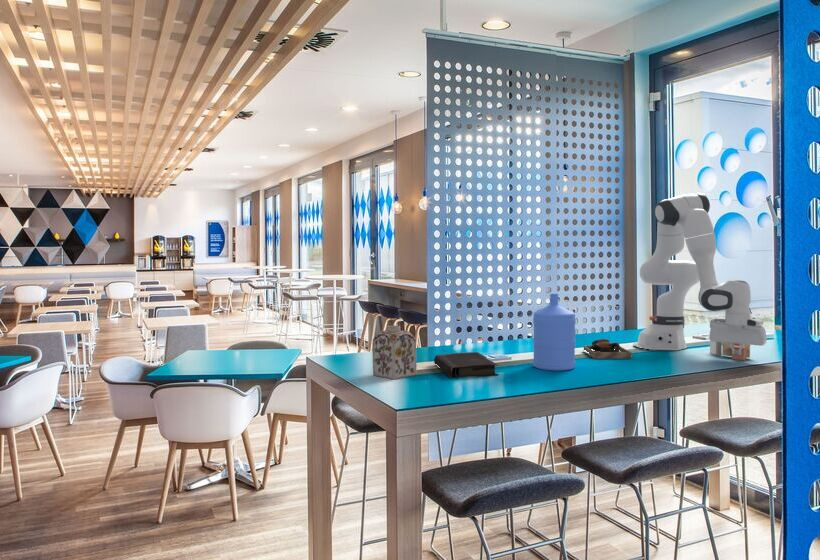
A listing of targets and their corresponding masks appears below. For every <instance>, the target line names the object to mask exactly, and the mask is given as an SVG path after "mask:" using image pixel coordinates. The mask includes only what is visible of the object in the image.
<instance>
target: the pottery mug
mask: <svg viewBox="0 0 820 560" xmlns="http://www.w3.org/2000/svg"><path fill="white" fill-rule="evenodd" d="M610 341H611V340H609V339H608V338H602V339H601V338H600V339H596V340H593V341H592V342H591V345H590V346H591V349H593V350H595V351H600V352H618V351H619V350H620V344H619V343H618V342H610ZM610 346H611V347H610ZM615 346H617V348H616V349H615V350H614V348H615Z"/></svg>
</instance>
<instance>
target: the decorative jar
mask: <svg viewBox="0 0 820 560" xmlns="http://www.w3.org/2000/svg"><path fill="white" fill-rule="evenodd" d="M417 362H418V361H417V339H416V337H415V336H414V335H413V334H412V333H411V331H408V330H403V329H401V325H388V326H387V329H386V330H381V331H379V332H378V333H376V335H375V336H374V337H373V338H372V375H373V376H376V377H379V378H384V379H389V380H393V381H395V380H396V381H397V380H399V379H404V378H409V377H413V376H416V375H417V369H418V368H417Z"/></svg>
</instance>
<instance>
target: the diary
mask: <svg viewBox="0 0 820 560" xmlns="http://www.w3.org/2000/svg"><path fill="white" fill-rule="evenodd" d="M433 363H434V365H435V364H437V365H438V366H439V367H440V368H441V369H442V370H441V369H440V368H439V369H440V370H441V371H442V372H443V373H445V374H446V375H448V376H449V378H451V379H453V378H454V377H455V378H468V377H469V378H470V377H476V378H478V377H479V378H482V377H495V376H499V373H497V372H496V366H499V364H497V363H496V362H494V361H492V360H491V359H489V358H487V356H485V355H483V354H482V353H480V352H478V351H471V352H454V353H446V354H436V355H435V356H434V359H433ZM453 376H454V377H453Z"/></svg>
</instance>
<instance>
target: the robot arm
mask: <svg viewBox="0 0 820 560" xmlns="http://www.w3.org/2000/svg"><path fill="white" fill-rule="evenodd" d="M710 208H711V205H710V199H709V198H708V197H707V195H706V194H704V193H702V192H693V193H688V194H681V195H678V196H674V197H671V198H665V199H663V200H660V201H659V202H657V203H656V205H655V208H654V216H655V218H656V221H657V226H656V227H657V228H656V229H657V230H656V247H655V250H654V252H653V254H652V256H651V257H649V258H648V259H647V260H646V261H644V262H643V263H642V264H641V266H640V267H639V277H640V279H641V280H642V282H643V283H645V284H648V285H649V284H650V285H655V286H669V285H670V286H671V289H670V290H668V291H666V292H665V293H662V294H660V295H659V296H658V297H657V299H656V314H655V315H654V316H652V315H649V316H648V319H649V321H651V322H652V323H651V324H650V325H649V326H646V328H644V329H643V330H642V331H640V333H639V335H638V340H637V342H633V343H632V346H633V345H635V346H638V347H641V348H645V349H644V350H646V349H649V350H653V351H682V350H685V349H687V344H686V340H685V331H684V330H685V323H686V322H685V316H684V305H685V301H686V299H685V298H686V296H687V294H688V292H689V291H690V290H691V289H692V287H694V286H695V285H696V284H698V283H699V285H700V289H699V291H698V292H699V293H698V302H699V304H700V305H701V307H702V308H704V309H706V310H707V311H710V312H719V311H724V312H725V313H724V318H713V319H711V320H709V328H710V330H709V337H708V338H709V341H710V340H711V341H715V342H726V343H730V345H729V346H730V347H731V349H732V354H734V355H741V350H742V349H743V348H744V346H745V344H748V345H750V346H764V345H766V344H767V332H766V328H765V327H764V320H762V319H760V318H759V317H755V316H752V315H751V309H750V306H751V301H752V300H751V287H750V284H749V283H748V282H747V281H744V280H741V279H736V278H735V279H734V278H730V279H729V278H728V279H727V280H726V281H724V282H722V283H718V281H717V276H716V271H715V267H714V257H715V254H716V252H717V251H716V250H717V241H716V235H715V230H714V227H713V222H712V219H711V218H710V215H709V214H708V213H709V211H710ZM685 244H686V248H687V251H688V252H689V254H690V256H691V258H692V260H693V261H692V260H683V259H681V260H679V259H678V260H675V259H674V260H673V259H672V260H670V258H672V257H673V256H676V255H678V254H679V253H681V252H682V251H683V249H684V248H685ZM735 343H737V344H739V346H740V349H739V350H735V348H734V345H735Z"/></svg>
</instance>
